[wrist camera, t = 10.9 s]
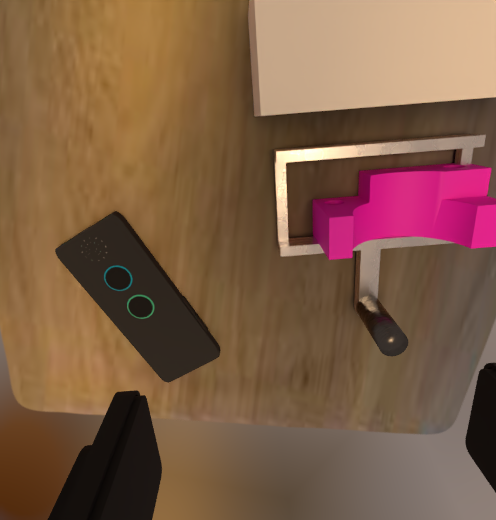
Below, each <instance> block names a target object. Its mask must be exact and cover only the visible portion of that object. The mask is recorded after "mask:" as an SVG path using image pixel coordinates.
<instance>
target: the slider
mask: <svg viewBox="0 0 496 520" xmlns="http://www.w3.org/2000/svg"><path fill="white" fill-rule="evenodd" d="M485 137H486V135H480V134H460V135H447V136H435V137H422V138H410V139H397V140H385V141H373V142H360V143H348V144H335V145H323V146H310V147H298V148H285V149H274V170H275V191H276V213H277V234H278V249H279V253H280V256H281V257H282V256H295V255H308V254H320V253H324V251H323V249H322V248H321V246H320V245H319V243H318V242H317V240H316V239H315V237H314V236H311V237H298V238H288V212H287V184H286V162H299V161H311V160H324V159H336V158H349V157H361V156H374V155H386V154H399V153H411V152H424V151H436V150H449V149H456V156H455V164H456V165H470V164H471V160H472V153H473V148H474V147H484V143H485ZM447 243H454V242H450V241H445V240H440V239H434V238H426V237H412V236H398V237H385V238H378V239H373V240H369V241H366V242H363V243H361V244H359V245H357V246H356V247H355V248H354V249H353V251H356V274H355V299H354V309H355V311H356V312H357V314H358V315H359V316H360V318H361V320H362V321H363V323H364V324H365V326H366V328H367V329H368V331H369V333H370V334H371V336H372V338H373V339H374V341H375V342H376V344H377V346H378V347H379V349H380V351H381V352H382V353H383V354H384V355H387V356H396V355H399V354H401V353H402V352H404V351H405V349H406V348H407V346H408V339H407V337H406V335H405V334H404V333H403V332H402V330H401V329H400V328H399V326H398V325H397V324H396V322H395V321H394V320H393V319H392V317H391V316H390V315H389V313H388V312H387V311H386V309H385V308H384V307H383V306H382V304H381V303H380V302H379V300H378V299H377V298H378V283H379V268H380V252H381V249H384V248H396V247H409V246H422V245H434V244H447Z"/></svg>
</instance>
